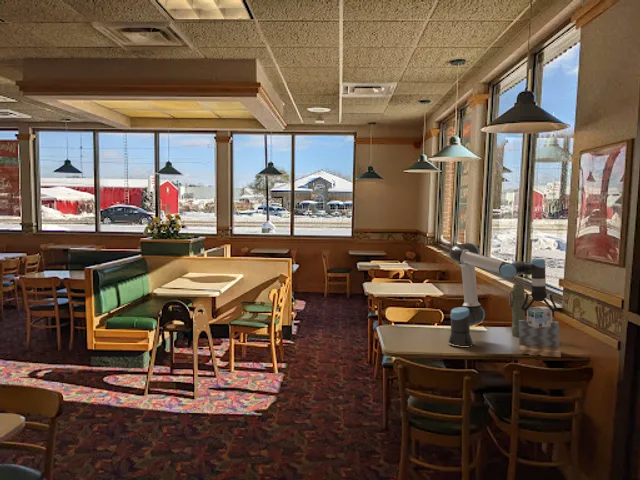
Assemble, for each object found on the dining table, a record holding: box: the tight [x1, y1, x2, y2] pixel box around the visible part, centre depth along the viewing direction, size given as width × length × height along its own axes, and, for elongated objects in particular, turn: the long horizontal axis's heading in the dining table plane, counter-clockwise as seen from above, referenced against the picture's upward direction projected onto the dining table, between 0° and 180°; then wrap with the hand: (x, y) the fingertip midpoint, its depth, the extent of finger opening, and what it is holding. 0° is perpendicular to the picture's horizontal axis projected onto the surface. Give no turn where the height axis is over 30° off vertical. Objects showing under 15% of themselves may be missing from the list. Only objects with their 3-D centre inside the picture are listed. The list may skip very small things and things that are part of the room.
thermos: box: [508, 283, 529, 338], centre depth 324 cm, size 9×12×35 cm
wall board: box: [518, 319, 562, 358], centre depth 285 cm, size 22×12×18 cm, turn 68°
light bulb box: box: [527, 306, 552, 328], centre depth 280 cm, size 11×7×11 cm, turn 101°
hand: (539, 321), depth 280 cm, fingers closed on light bulb box, 12 cm apart
